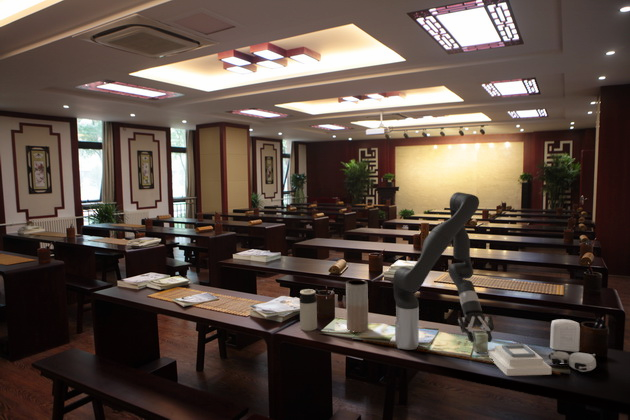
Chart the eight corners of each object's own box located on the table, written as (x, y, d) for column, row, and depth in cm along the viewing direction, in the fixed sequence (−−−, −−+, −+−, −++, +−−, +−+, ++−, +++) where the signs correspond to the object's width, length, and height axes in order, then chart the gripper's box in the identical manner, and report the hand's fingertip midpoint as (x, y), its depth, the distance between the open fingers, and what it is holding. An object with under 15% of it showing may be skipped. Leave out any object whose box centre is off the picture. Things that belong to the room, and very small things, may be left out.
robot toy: (546, 369, 154) (594, 378, 144) (545, 357, 153) (594, 365, 144) (551, 357, 163) (597, 364, 154) (551, 346, 163) (597, 352, 154)
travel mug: (320, 326, 199) (319, 290, 198) (311, 332, 192) (310, 294, 191) (306, 324, 203) (305, 288, 202) (297, 329, 197) (296, 292, 195)
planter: (353, 323, 202) (352, 278, 200) (371, 327, 196) (371, 280, 194) (342, 330, 194) (341, 282, 192) (361, 334, 188) (360, 285, 186)
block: (476, 353, 166) (476, 335, 166) (472, 348, 170) (472, 331, 170) (487, 352, 167) (487, 334, 166) (483, 348, 171) (483, 330, 170)
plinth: (506, 375, 148) (507, 359, 147) (487, 356, 164) (487, 341, 163) (551, 374, 148) (551, 358, 147) (527, 354, 164) (528, 340, 163)
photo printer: (577, 348, 168) (578, 319, 167) (580, 353, 164) (581, 322, 163) (548, 346, 171) (549, 317, 170) (551, 350, 167) (552, 320, 166)
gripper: (455, 300, 175) (466, 338, 164) (489, 299, 175) (502, 337, 164) (451, 308, 180) (461, 345, 170) (484, 307, 181) (496, 344, 170)
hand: (481, 341), depth 167 cm, fingers open, 6 cm apart
